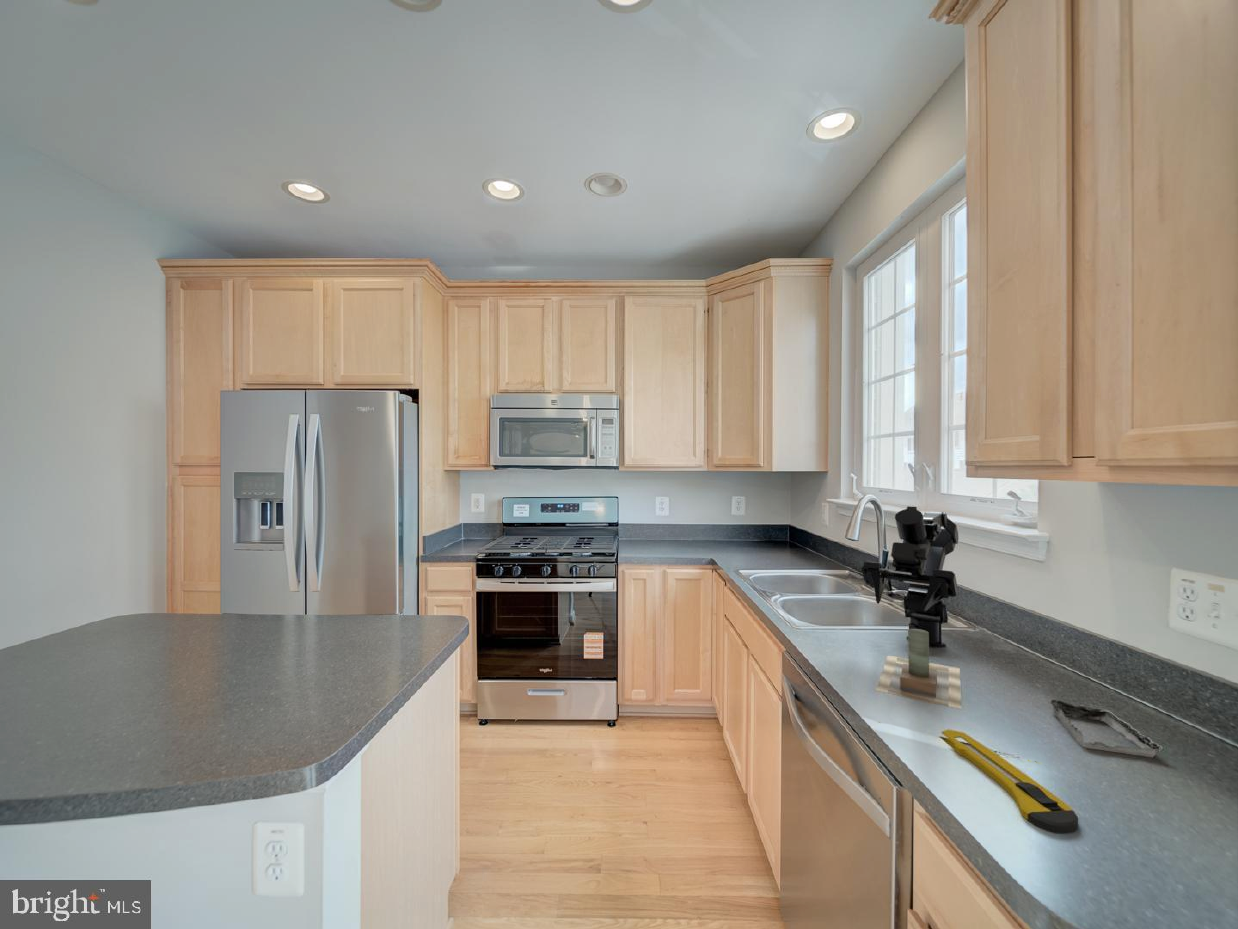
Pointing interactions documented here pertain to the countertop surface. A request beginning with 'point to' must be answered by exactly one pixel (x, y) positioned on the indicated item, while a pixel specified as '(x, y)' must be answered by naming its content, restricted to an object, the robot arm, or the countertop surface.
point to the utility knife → (1017, 786)
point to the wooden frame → (945, 693)
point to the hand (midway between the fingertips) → (900, 606)
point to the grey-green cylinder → (918, 665)
